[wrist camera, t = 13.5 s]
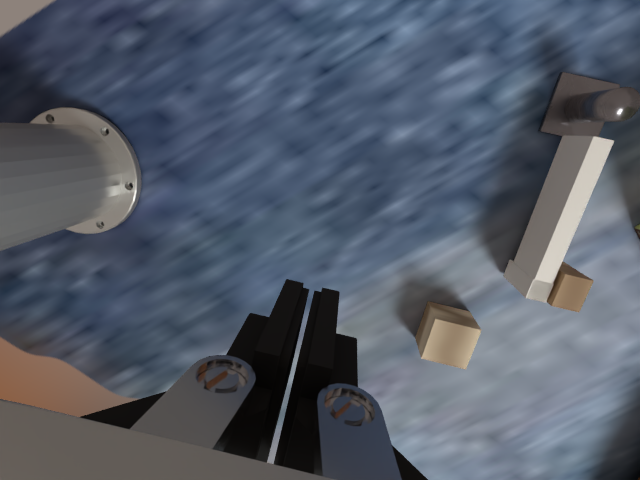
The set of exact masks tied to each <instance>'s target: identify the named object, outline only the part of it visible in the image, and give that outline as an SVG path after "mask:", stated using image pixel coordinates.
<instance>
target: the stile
mask: <svg viewBox="0 0 640 480" xmlns="http://www.w3.org/2000/svg"><path fill="white" fill-rule="evenodd" d="M553 284H554V285H553V287H552V290H551V292H550V294H549V297H548V299H547V302H548V303H549V304H550V305H551V306H554V307H559V308H563V309H567V310H571V311H576V312H579V311H580V309H581V307H582V305H583V303H584V301H585V299H586V296H587V294H588V292H589V290H590V288H591V286H592V284H593V280H592V279H590V278H588V277H587V276H585V275H584V274H582V273H580V272H579V271H577V270H576V269H574V268H572V267H571V266H569V265H568V264H566V263H565V262H563V261H562V264H561V266H560V268H559V271H558V273H557V275H556V278H555V280H554V282H553Z"/></svg>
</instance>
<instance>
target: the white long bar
mask: <svg viewBox="0 0 640 480" xmlns="http://www.w3.org/2000/svg"><path fill="white" fill-rule="evenodd" d="M613 143H614V141H613V140H608V139H604V138H599V137H595V136H566V135H563V136H562V139H561V141H560V144H559V147H558V149H557V152H556V154H555V157H554V159H553V162H552V165H551V167H550V170H549V172H548V175H547V177H546V180H545V182H544V185H543V188H542V190H541V193H540V195H539V198H538V200H537V203H536V206H535V208H534V211H533V213H532V216H531V218H530V221H529V223H528V226H527V229H526V231H525V234H524V236H523V239H522V241H521V244H520V247H519V249H518V252H517V254H516V257H515V259H514V261H513V260H509V262H508V265H507V268H506V270H505V273H504V275H503V276H504V277H505V278H506V279H507V280H508V281H509V282H510V283H511V284H512V285H513V286H514V287H515V288H516V289H517V290H518V291H519V292H520V293H521V294H522V295H523V296H524V297H525V298H528V299H532V300H537V301H541V302H545V303H546V301H547V299H548V297H549V294H550V292H551V290H552V287H553V285H554V284H553V282H554V280H555V278H556V275H557V273H558V271H559V268H560V266H561V264H562V261H563V259H564V257H565V254H566V252H567V250H568V247H569V245H570V243H571V240H572V238H573V236H574V233H575V231H576V229H577V226H578V224H579V222H580V219H581V217H582V215H583V212H584V210H585V208H586V206H587V203H588V201H589V199H590V196H591V194H592V192H593V189H594V187H595V185H596V182H597V180H598V178H599V175H600V173H601V171H602V168H603V166H604V164H605V161H606V159H607V157H608V154H609V152H610V150H611V147H612V145H613Z"/></svg>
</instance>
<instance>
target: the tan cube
mask: <svg viewBox="0 0 640 480" xmlns="http://www.w3.org/2000/svg"><path fill="white" fill-rule="evenodd" d="M480 333H481V329H480V327H479V325H478V324H477V322H476V321H475V319H474V318H473V316H472V314H471V313H470V311H466V310H461V309H457V308H453V307H449V306H445V305H441V304H437V303H433V302H429V301H428V302H427V305H426V308H425V311H424V314H423V317H422V320H421V323H420V326H419V328H418V331H417V334H416V337H415V339H416V342H417V345H418V349H419V352H420V355H421V358H422V359H426V360H430V361H434V362H438V363H442V364H446V365H450V366H454V367H458V368H462V369H466V368H467V365H468V363H469V360H470V358H471V355H472V353H473V350H474V348H475V345H476V343H477V340H478V338H479V335H480Z"/></svg>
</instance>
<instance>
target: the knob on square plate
mask: <svg viewBox="0 0 640 480" xmlns="http://www.w3.org/2000/svg"><path fill="white" fill-rule="evenodd" d="M619 87H620V85H619V84H614V83H610V82H605V81H601V80H596V79H592V78H587V77H583V76H578V75H574V74H569V73H565V72H561V73H560V75H559V78H558V80H557V83H556V86H555V88H554V91H553V94H552V96H551V99H550V102H549V104H548V107H547V110H546V112H545V115H544V118H543V120H542V123H541V126H540V128H539V131H540V132H545V133H549V134H554V135H558V136H563V135H566V136H595V137H598V136H599V134H600V132H601V129H602V127H603V125H604V122H617V121H625V120H627V119H629V118H631V117H632V116H633V115H634V114H635V113H636V112H637V111H638V109H639V106H640V95H639V93H638V92H637V91H636V90H635V89H634V88H631V87H621V88H619Z"/></svg>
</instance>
